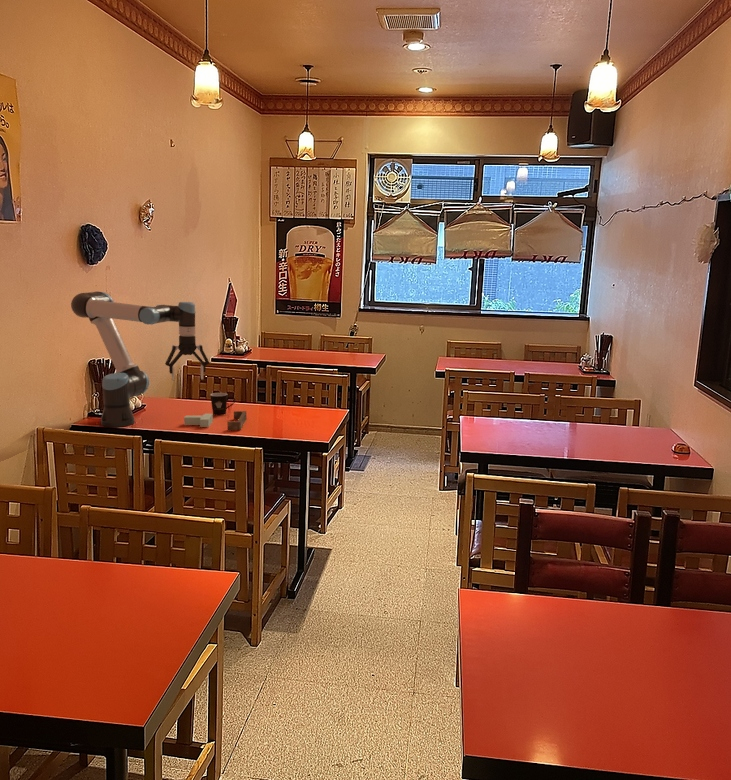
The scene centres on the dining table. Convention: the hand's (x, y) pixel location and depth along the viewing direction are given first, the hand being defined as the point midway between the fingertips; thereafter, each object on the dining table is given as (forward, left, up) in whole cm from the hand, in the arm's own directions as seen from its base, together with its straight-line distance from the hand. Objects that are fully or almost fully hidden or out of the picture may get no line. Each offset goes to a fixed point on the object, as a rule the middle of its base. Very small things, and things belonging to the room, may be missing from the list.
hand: (187, 379), depth 331 cm
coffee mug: (+13, +17, -21) cm, 30 cm away
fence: (+24, -5, -21) cm, 32 cm away
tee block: (+5, -5, -21) cm, 22 cm away
